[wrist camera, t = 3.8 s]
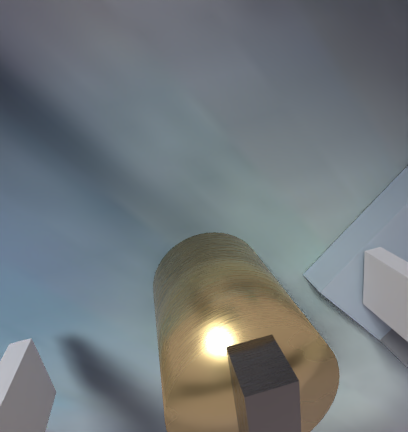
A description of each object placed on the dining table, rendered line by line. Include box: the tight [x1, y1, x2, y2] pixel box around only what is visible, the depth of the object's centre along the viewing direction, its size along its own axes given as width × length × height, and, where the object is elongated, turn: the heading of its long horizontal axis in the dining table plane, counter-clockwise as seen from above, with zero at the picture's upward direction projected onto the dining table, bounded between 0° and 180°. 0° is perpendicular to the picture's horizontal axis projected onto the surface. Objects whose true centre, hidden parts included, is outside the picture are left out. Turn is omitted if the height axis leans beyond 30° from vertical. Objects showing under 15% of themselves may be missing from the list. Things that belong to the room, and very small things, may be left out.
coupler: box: [153, 233, 339, 432], centre depth 11 cm, size 5×5×7 cm
